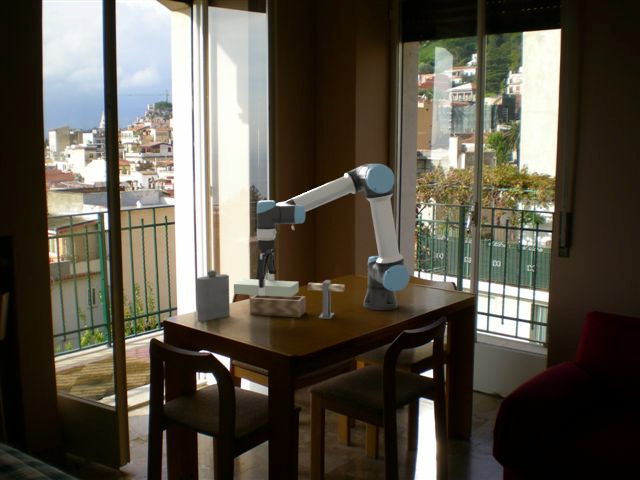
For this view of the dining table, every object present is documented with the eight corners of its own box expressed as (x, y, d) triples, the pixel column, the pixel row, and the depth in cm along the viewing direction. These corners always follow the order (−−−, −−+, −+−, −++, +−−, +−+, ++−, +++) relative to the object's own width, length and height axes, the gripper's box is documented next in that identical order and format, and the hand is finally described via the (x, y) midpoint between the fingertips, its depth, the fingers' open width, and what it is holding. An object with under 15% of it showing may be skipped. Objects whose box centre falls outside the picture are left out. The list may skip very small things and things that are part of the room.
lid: (298, 291, 282) (298, 281, 282) (291, 297, 272) (291, 287, 271) (243, 288, 288) (243, 278, 287) (233, 293, 277) (233, 283, 277)
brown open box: (305, 312, 298) (305, 296, 297) (299, 317, 289) (299, 301, 288) (256, 309, 303) (256, 293, 302) (250, 314, 294) (249, 298, 293)
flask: (223, 313, 295) (223, 267, 292) (231, 316, 291) (231, 269, 288) (194, 319, 285) (192, 272, 282) (201, 322, 281) (200, 274, 278)
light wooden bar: (344, 290, 289) (344, 284, 289) (343, 291, 286) (343, 285, 286) (309, 288, 293) (309, 282, 292) (307, 290, 290) (307, 284, 289)
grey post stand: (334, 314, 294) (334, 279, 292) (330, 318, 286) (330, 283, 284) (323, 313, 295) (323, 279, 293) (318, 318, 287) (318, 282, 285)
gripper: (266, 243, 264) (266, 299, 267) (283, 235, 287) (283, 287, 290) (247, 242, 266) (248, 298, 269) (266, 235, 289) (266, 286, 292)
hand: (266, 292), depth 280 cm, fingers closed on lid, 11 cm apart
